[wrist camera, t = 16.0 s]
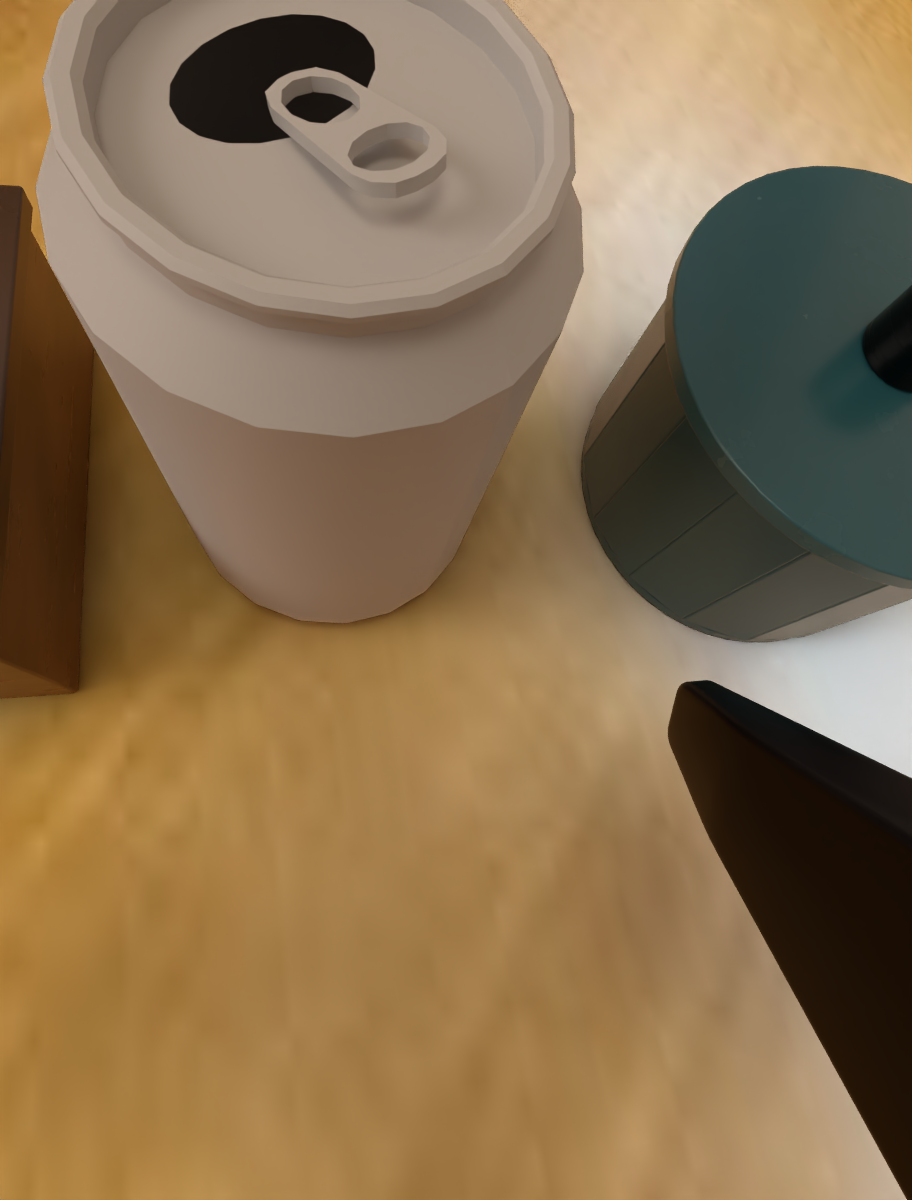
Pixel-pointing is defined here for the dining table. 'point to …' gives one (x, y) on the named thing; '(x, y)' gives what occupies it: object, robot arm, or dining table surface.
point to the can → (315, 267)
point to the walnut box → (40, 464)
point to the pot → (700, 521)
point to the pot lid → (805, 358)
